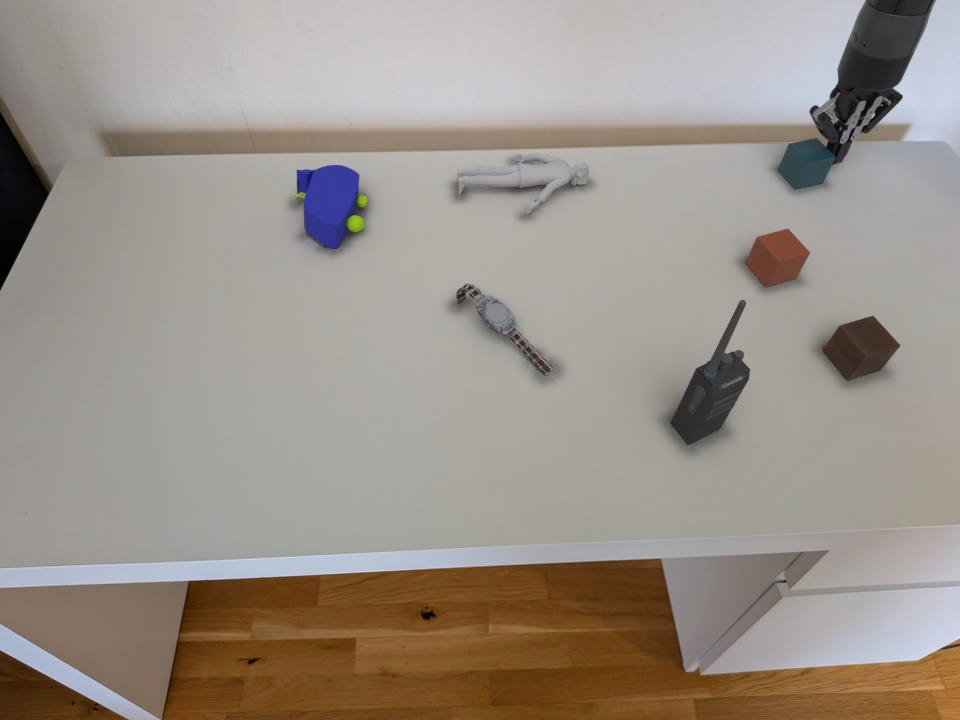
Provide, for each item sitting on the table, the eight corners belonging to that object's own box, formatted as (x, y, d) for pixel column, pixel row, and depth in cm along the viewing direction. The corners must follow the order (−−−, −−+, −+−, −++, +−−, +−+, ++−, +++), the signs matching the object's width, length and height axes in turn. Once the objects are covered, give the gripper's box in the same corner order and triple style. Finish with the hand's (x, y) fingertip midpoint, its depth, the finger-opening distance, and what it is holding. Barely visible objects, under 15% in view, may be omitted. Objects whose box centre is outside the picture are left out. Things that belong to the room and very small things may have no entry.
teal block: (804, 164, 98) (816, 137, 94) (822, 183, 95) (836, 156, 91) (777, 170, 97) (788, 143, 93) (794, 190, 94) (807, 163, 91)
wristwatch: (466, 291, 82) (474, 270, 78) (548, 378, 80) (561, 361, 75) (444, 307, 80) (451, 286, 76) (527, 396, 78) (539, 380, 74)
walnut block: (854, 340, 78) (873, 315, 74) (880, 370, 76) (901, 345, 72) (822, 350, 77) (839, 325, 74) (847, 381, 75) (866, 356, 71)
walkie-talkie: (687, 448, 69) (751, 322, 53) (667, 423, 71) (723, 294, 55) (724, 430, 71) (797, 302, 55) (704, 406, 73) (768, 275, 57)
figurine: (461, 218, 90) (595, 211, 91) (461, 195, 87) (599, 188, 88) (455, 165, 97) (579, 160, 99) (454, 143, 94) (582, 137, 96)
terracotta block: (775, 254, 86) (788, 228, 83) (796, 279, 84) (810, 252, 80) (744, 263, 86) (756, 236, 82) (765, 287, 83) (778, 261, 79)
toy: (357, 191, 95) (288, 194, 92) (359, 159, 91) (286, 161, 88) (375, 253, 89) (301, 259, 86) (378, 222, 85) (301, 227, 82)
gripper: (856, 67, 78) (807, 188, 92) (952, 42, 80) (890, 164, 94) (816, 37, 83) (775, 157, 97) (908, 14, 85) (855, 135, 99)
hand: (832, 160), depth 95 cm, fingers closed
